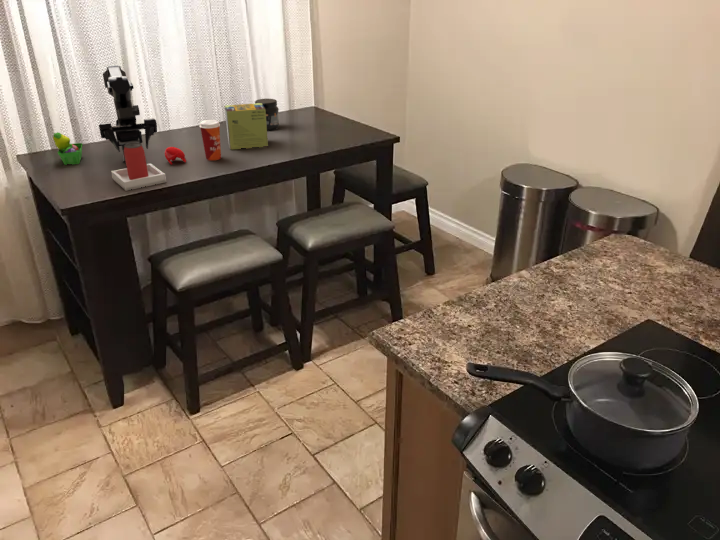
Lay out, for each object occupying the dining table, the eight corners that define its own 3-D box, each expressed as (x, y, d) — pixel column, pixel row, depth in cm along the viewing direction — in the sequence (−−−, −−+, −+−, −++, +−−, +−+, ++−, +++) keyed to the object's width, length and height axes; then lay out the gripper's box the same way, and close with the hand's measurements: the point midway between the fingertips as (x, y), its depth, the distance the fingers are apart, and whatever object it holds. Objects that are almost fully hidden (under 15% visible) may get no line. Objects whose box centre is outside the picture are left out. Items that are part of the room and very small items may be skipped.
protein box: (268, 146, 247) (265, 108, 239) (230, 150, 243) (226, 111, 235) (264, 139, 255) (261, 102, 248) (227, 142, 251) (223, 105, 244)
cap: (161, 157, 223) (174, 149, 222) (161, 148, 227) (174, 140, 226) (176, 171, 229) (189, 163, 228) (176, 161, 233) (188, 153, 232)
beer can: (141, 173, 215) (135, 140, 209) (152, 177, 211) (146, 144, 206) (125, 178, 211) (118, 145, 205) (136, 183, 207) (129, 148, 201)
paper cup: (216, 162, 229) (212, 125, 222) (199, 160, 231) (194, 123, 225) (227, 156, 235) (223, 120, 229) (210, 154, 238) (206, 118, 231)
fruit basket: (82, 164, 226) (75, 135, 221) (56, 166, 224) (49, 136, 219) (85, 155, 236) (79, 126, 231) (61, 157, 234) (53, 128, 228)
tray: (112, 179, 213) (111, 171, 211) (151, 171, 220) (150, 163, 218) (125, 190, 203) (124, 182, 201) (166, 182, 210) (165, 173, 209)
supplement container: (251, 127, 272) (249, 100, 267) (272, 123, 278) (270, 97, 272) (263, 132, 265) (261, 104, 259) (284, 128, 270) (282, 101, 265)
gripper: (93, 99, 201) (102, 141, 198) (151, 94, 208) (161, 135, 204) (97, 117, 211) (105, 157, 208) (152, 112, 218) (161, 150, 214)
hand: (133, 149), depth 208 cm, fingers open, 9 cm apart
